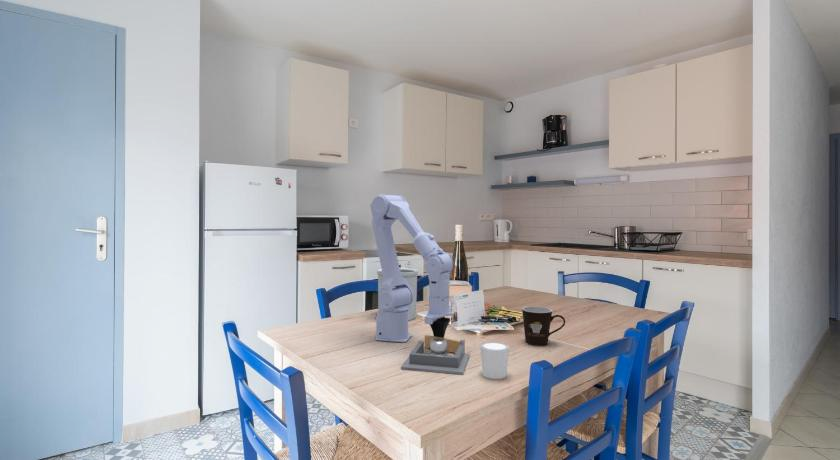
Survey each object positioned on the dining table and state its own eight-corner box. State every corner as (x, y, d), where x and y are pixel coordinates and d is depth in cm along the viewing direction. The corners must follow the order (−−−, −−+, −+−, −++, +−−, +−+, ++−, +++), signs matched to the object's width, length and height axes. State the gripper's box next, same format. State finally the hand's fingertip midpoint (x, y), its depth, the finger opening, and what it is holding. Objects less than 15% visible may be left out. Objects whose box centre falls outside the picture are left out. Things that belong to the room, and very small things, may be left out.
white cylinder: (491, 382, 100) (491, 352, 99) (474, 372, 106) (474, 343, 106) (515, 377, 103) (515, 347, 103) (497, 367, 109) (497, 340, 109)
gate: (465, 353, 119) (465, 340, 119) (463, 354, 118) (463, 341, 118) (426, 346, 126) (426, 333, 125) (424, 347, 124) (424, 334, 124)
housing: (400, 369, 108) (400, 357, 108) (414, 351, 121) (414, 340, 121) (462, 374, 104) (463, 362, 104) (469, 356, 118) (469, 345, 118)
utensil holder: (394, 310, 171) (394, 266, 170) (425, 316, 162) (425, 269, 162) (368, 318, 159) (368, 270, 158) (401, 324, 150) (401, 273, 150)
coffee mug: (516, 342, 130) (516, 309, 129) (530, 336, 136) (531, 305, 136) (552, 351, 122) (553, 316, 121) (566, 344, 128) (567, 311, 128)
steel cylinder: (428, 361, 113) (428, 342, 113) (432, 356, 117) (432, 337, 117) (444, 363, 112) (444, 344, 112) (448, 357, 116) (448, 339, 116)
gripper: (441, 302, 115) (441, 352, 116) (461, 293, 128) (461, 338, 129) (417, 299, 118) (417, 349, 119) (439, 290, 131) (439, 335, 132)
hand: (438, 343), depth 124 cm, fingers closed
